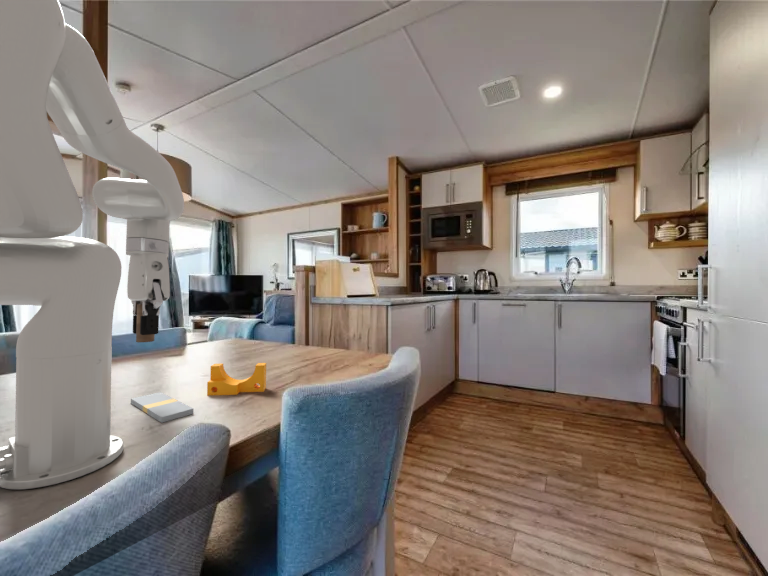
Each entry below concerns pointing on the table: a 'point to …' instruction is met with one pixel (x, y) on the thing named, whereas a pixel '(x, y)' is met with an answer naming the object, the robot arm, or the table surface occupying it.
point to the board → (162, 406)
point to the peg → (138, 336)
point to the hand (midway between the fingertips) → (145, 332)
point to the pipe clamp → (235, 381)
